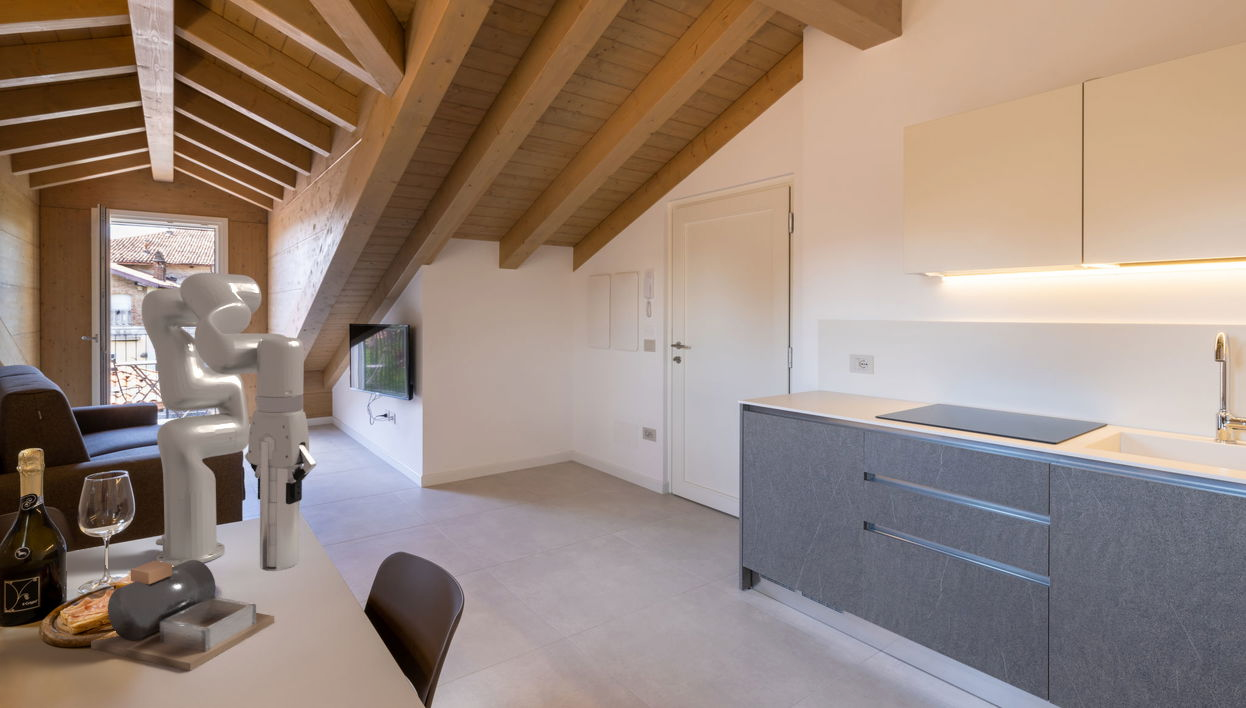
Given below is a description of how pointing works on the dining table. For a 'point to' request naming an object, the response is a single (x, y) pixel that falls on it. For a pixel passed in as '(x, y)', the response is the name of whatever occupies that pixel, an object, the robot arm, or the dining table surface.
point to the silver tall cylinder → (276, 516)
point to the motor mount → (176, 616)
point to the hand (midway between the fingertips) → (279, 498)
